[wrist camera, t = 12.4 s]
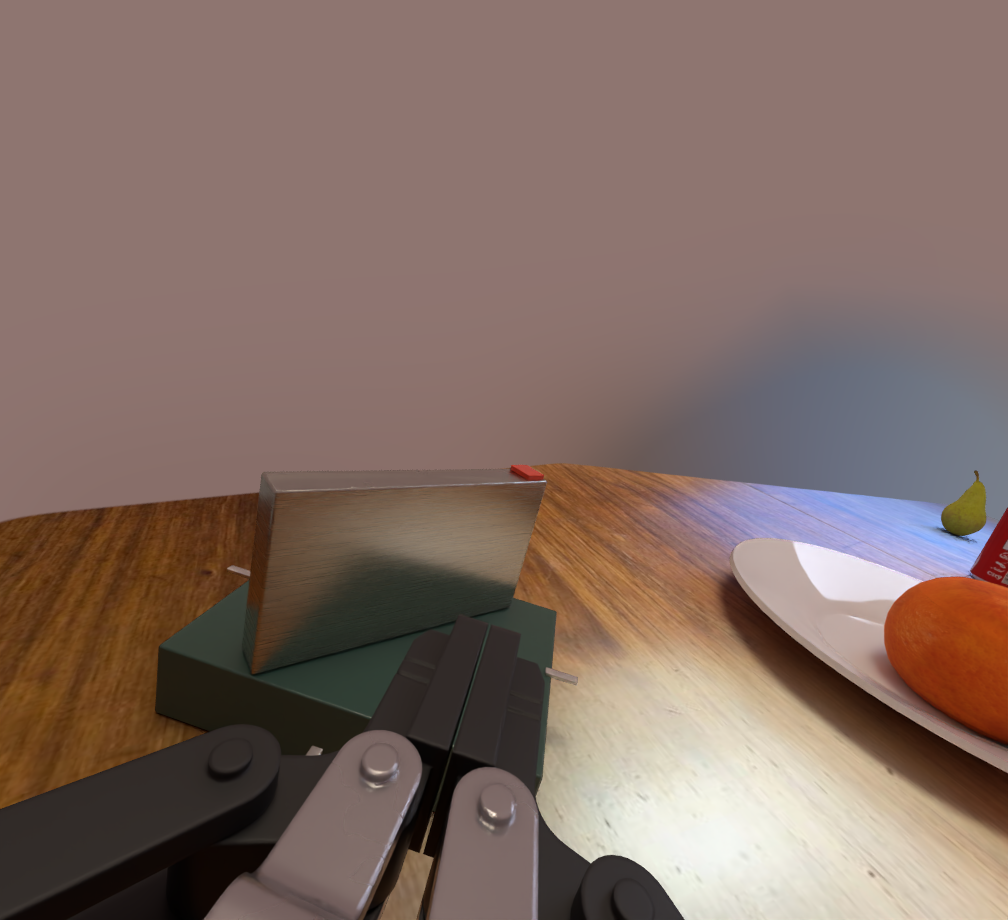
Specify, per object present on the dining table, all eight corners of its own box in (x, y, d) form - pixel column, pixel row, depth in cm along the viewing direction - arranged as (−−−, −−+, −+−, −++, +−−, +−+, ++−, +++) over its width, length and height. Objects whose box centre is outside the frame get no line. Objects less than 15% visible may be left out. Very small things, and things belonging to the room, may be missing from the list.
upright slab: (251, 676, 16) (275, 483, 14) (241, 646, 18) (261, 463, 16) (510, 607, 24) (549, 476, 22) (492, 589, 25) (527, 463, 23)
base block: (35, 776, 15) (33, 695, 14) (315, 551, 30) (322, 506, 29) (543, 968, 13) (576, 892, 13) (563, 630, 29) (578, 585, 28)
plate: (686, 539, 49) (717, 462, 47) (975, 627, 46) (1023, 549, 44) (795, 775, 23) (879, 623, 20) (1497, 1021, 19) (1695, 876, 17)
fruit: (974, 544, 84) (1010, 481, 81) (932, 528, 88) (966, 468, 85) (974, 539, 88) (1009, 479, 85) (935, 525, 92) (967, 467, 89)
